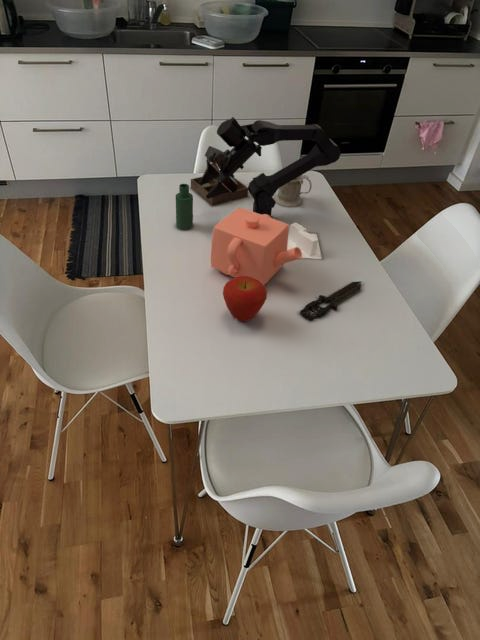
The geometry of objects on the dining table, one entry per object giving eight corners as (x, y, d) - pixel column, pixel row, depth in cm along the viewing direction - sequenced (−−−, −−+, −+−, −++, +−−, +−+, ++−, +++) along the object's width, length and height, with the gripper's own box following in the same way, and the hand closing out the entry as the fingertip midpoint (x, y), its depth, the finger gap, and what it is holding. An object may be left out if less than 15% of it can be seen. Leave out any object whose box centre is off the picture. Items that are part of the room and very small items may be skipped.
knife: (357, 281, 151) (358, 277, 150) (373, 292, 147) (374, 288, 146) (294, 309, 139) (295, 306, 138) (310, 323, 135) (311, 319, 134)
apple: (271, 316, 136) (276, 281, 128) (246, 336, 129) (249, 300, 121) (239, 298, 141) (242, 263, 133) (213, 317, 134) (215, 280, 126)
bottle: (195, 227, 167) (195, 187, 158) (181, 231, 165) (180, 191, 155) (187, 220, 171) (187, 180, 161) (173, 224, 168) (172, 184, 159)
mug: (269, 198, 186) (272, 167, 178) (287, 191, 191) (291, 161, 183) (297, 214, 179) (302, 183, 171) (316, 206, 184) (321, 176, 176)
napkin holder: (322, 258, 158) (325, 243, 155) (286, 257, 158) (289, 241, 154) (316, 233, 170) (319, 218, 166) (283, 231, 169) (285, 216, 165)
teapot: (311, 270, 153) (321, 218, 142) (277, 309, 138) (285, 255, 127) (241, 243, 162) (244, 192, 150) (202, 277, 147) (203, 224, 135)
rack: (247, 196, 186) (248, 187, 184) (212, 206, 179) (212, 196, 177) (225, 179, 195) (225, 171, 193) (190, 188, 188) (190, 179, 186)
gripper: (213, 127, 158) (179, 162, 163) (230, 151, 145) (192, 189, 150) (236, 150, 166) (202, 183, 170) (253, 175, 152) (217, 210, 157)
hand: (203, 190), depth 161 cm, fingers open, 9 cm apart
